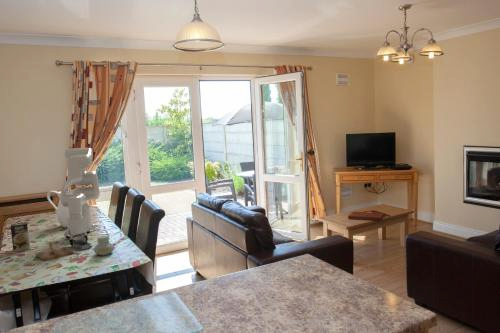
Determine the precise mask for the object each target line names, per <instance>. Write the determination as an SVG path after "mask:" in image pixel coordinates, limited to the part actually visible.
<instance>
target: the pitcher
mask: <svg viewBox="0 0 500 333" xmlns="http://www.w3.org/2000/svg"><path fill="white" fill-rule="evenodd" d="M76 188H77V187H75V188H74V189H76ZM74 189H70V190H67V191H66V195H70V194H73V190H74ZM51 194H55V195H57V196H58V198H59V201H58V203H57V204H58V205H57V206H56V205H55V204H54V202H52V200H51ZM46 199H47V202H49V203H50V205H51V206H52V207H53V208H54V210H55V215H56V220H57V222H58V223H59V225H60V226H61V228H62V227H63V228H68V219H70V218H69V210H68V207H64V206H62V204H61V190H60V191H59V190H58V191H57V190H50V191H48V192H47V195H46Z"/></svg>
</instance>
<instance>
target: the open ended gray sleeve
mask: <svg viewBox="0 0 500 333" xmlns="http://www.w3.org/2000/svg"><path fill="white" fill-rule="evenodd" d="M72 239H73V246H72V247H73V248H74V249H76V250H78V251H85V250H88V249H91V248H92V245H91V243H90V242H88V241H87V242H86V238H85V237H84V235H83V236H82V235H79V236H76V237H73V238H72Z"/></svg>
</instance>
